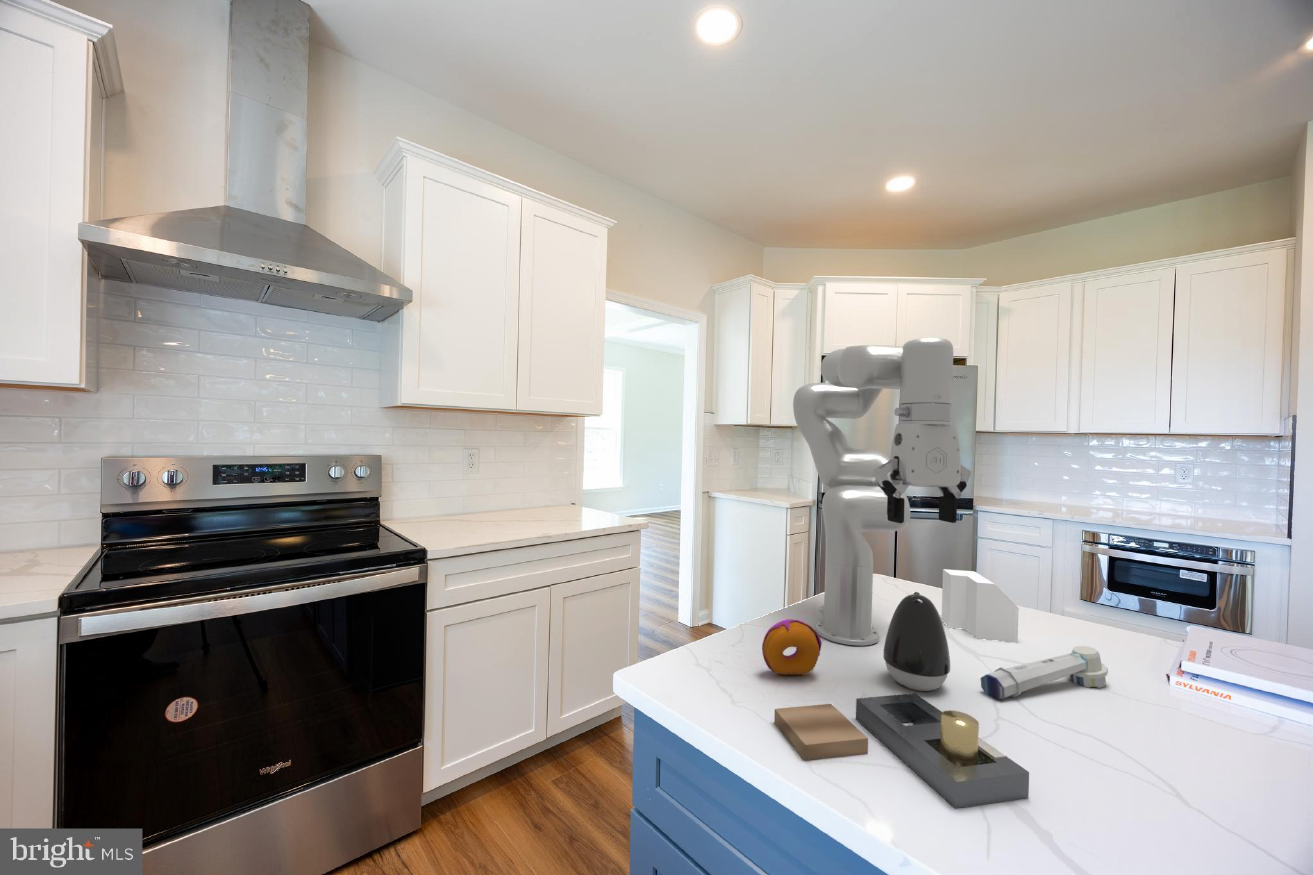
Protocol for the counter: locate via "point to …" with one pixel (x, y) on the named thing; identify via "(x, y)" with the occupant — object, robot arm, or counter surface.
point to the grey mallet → (1047, 673)
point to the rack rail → (922, 752)
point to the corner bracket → (978, 606)
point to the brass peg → (959, 738)
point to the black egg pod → (917, 645)
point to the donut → (791, 636)
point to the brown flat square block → (820, 732)
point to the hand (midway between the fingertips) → (921, 521)
